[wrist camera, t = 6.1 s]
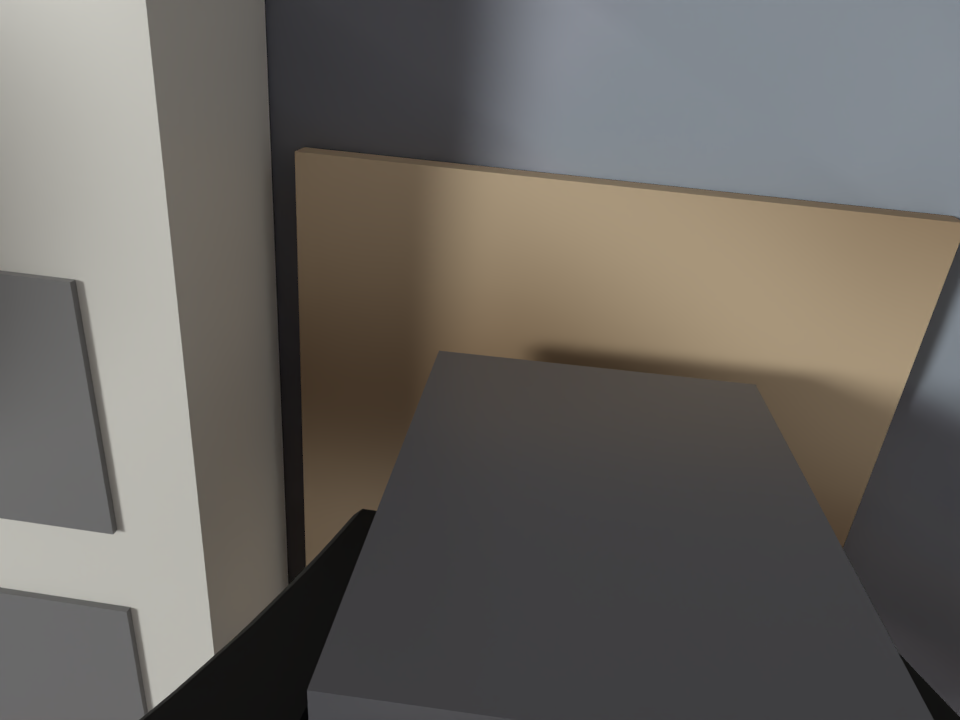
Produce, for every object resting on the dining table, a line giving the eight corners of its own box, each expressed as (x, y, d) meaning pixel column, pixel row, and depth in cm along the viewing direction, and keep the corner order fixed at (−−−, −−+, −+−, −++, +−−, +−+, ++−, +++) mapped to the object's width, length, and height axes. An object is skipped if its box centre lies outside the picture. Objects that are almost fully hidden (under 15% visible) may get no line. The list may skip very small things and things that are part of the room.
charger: (692, 623, 11) (797, 1108, 6) (427, 588, 12) (320, 1027, 6) (756, 384, 9) (975, 797, 4) (438, 350, 10) (303, 700, 5)
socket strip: (292, 699, 15) (218, 880, 12) (25, 656, 16) (-117, 822, 12) (232, -797, 7) (-85, -1565, 3) (-359, -808, 7) (-1139, -1508, 4)
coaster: (777, 684, 14) (783, 702, 13) (314, 615, 14) (307, 630, 14) (951, 216, 10) (966, 223, 9) (304, 146, 10) (295, 151, 10)
